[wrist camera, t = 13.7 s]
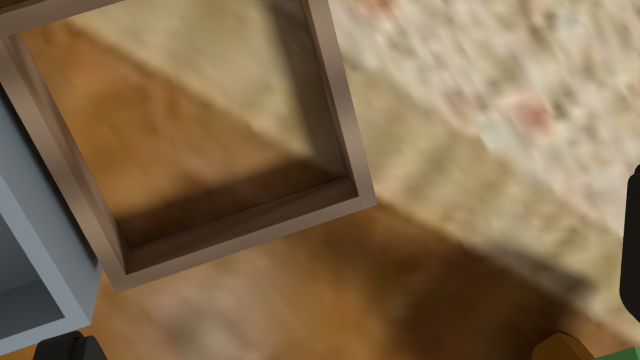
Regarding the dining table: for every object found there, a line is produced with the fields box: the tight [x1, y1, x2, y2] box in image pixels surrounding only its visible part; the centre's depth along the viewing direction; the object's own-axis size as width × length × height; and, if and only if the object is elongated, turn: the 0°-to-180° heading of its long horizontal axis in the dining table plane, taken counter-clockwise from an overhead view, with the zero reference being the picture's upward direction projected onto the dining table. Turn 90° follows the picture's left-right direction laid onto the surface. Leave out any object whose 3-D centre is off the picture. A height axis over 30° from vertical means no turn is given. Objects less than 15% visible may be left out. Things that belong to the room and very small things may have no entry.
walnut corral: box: [0, 0, 378, 293], centre depth 34 cm, size 17×17×3 cm
